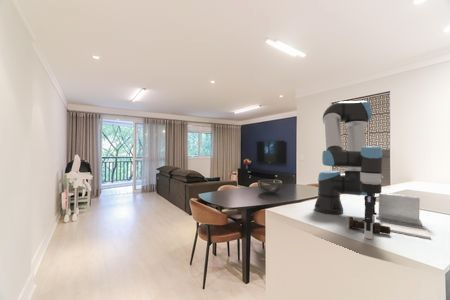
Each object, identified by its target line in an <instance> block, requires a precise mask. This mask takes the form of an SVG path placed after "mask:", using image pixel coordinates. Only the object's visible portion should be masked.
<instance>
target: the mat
mask: <svg viewBox="0 0 450 300" xmlns="http://www.w3.org/2000/svg"><path fill="white" fill-rule="evenodd" d="M382 225H383V226H388V227H390V233H392V232H393V233H397V234H401V235H408V236H412V237H413V236H414V237H416V238H417V237H418V238H422V239H428V240H431V239H432V237H431V234H430V233H429V230H427V229H421V228H416V227H412V226H411V227H410V226H404V225H399V224H395V223H388V222H382Z"/></svg>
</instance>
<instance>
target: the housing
mask: <svg viewBox="0 0 450 300" xmlns="http://www.w3.org/2000/svg"><path fill="white" fill-rule="evenodd" d="M420 200H421V198H420V196H418V195H417V196H416V195H408V194H402V193H401V194H399V193H391V192H382V191H381V193H379V194H378V212H376V213H377V215H375V220H381V221H385V222H392V223H398V224H404V225H409V226H414V227H415V226H417V227H420V228H421V227H423V223H422V221H421V219H420V202H421V201H420Z"/></svg>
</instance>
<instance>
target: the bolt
mask: <svg viewBox="0 0 450 300" xmlns="http://www.w3.org/2000/svg"><path fill="white" fill-rule="evenodd" d="M364 223H365V222H363V220H362V221H360V220H356V219H354V216H349V219H348V229H349V230H353V231H354V229H353V228H355V229H360V230H361V229H362V230H364ZM373 233H374V234H377V235H380V234H385V235H391V231H390V227H388V226H383V225H381V223H380V222H378V221H377V222H375V223H374V224H373Z"/></svg>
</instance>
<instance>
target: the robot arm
mask: <svg viewBox="0 0 450 300" xmlns="http://www.w3.org/2000/svg"><path fill="white" fill-rule="evenodd" d="M372 115H373V114H372V107H371V104H370V102H369V101H367V100H355V101H354V100H353V101H339V102H338V101H337V102H335V103H332V104H331V105H329V106H328V107H327V108H326V110H324V112H323V114H322V123H323V124H324V134H325V135H324V136H325V150H323V151H322V155H321V157H322V158H321V160H322V161H321V162H322V165H323V166H326V167H327V166H328V167H346V169H344V173H342V172H341V171H340V170H325V171H321V172H319V173H318V179H317V181H318V186H317V188H318V189H317V198H316V201H315V204H314V211H316V212H319V213H323V214H329V215H330V214H331V215H341V214H344V207H343V203H342V201H341V194H342V195H351V196H352V195H353V196H358V197H359V196H364V219H362V222H365V223H364V229H363V231H364V232H363V233H364V234H363V236H364V239H368V240H373V233H374V231H373V224H374V223H375V220H376V216H377V213H378V212H376V203H377V202H376V201H377V196H375V195H379V193H381V192H382V184H381V183H382V179H384V175H382V172H383V171H382V170H383V168H382V167H383V149H382V147H381V146H366V145H365V144H366V143H365V140H366V139H365V137H366V133H365V132H366V131H365V130H366V129H365V128H366V126H367V125H368V124H369V123H368V122H369V121H371V120H372ZM342 122H344V126H345V127H346V128H347V150H344V149H343V141H342V133H341V123H342Z"/></svg>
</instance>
